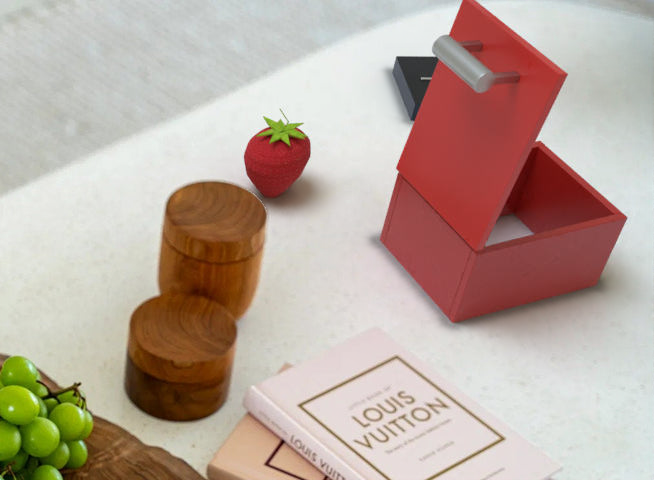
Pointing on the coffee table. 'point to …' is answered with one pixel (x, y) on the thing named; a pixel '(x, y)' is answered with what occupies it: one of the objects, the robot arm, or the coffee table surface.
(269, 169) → the strawberry
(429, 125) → the hatch
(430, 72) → the panel
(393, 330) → the coffee table surface
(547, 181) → the red open box
